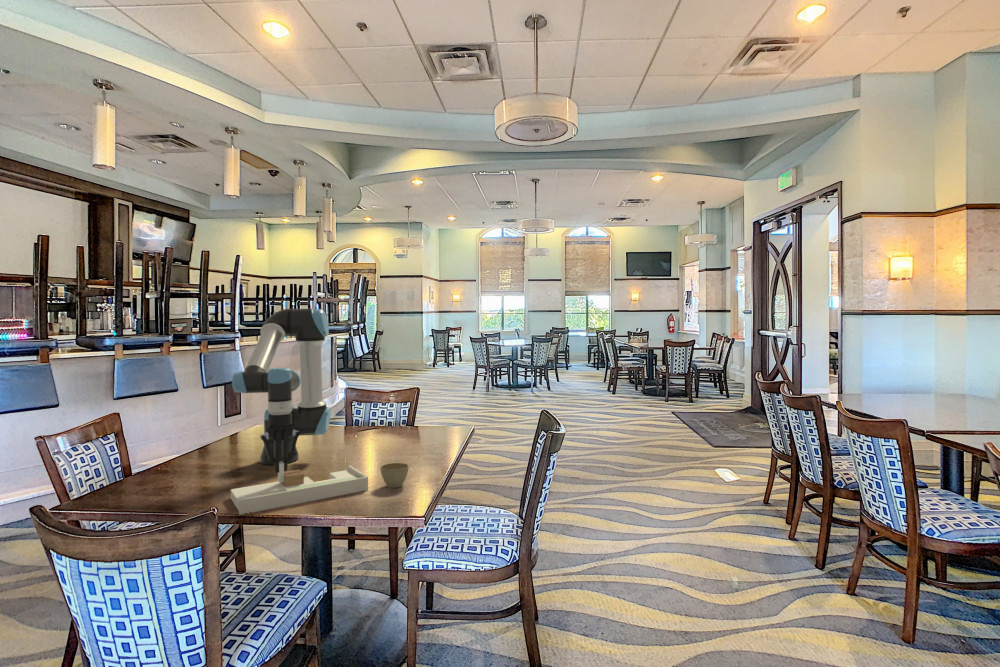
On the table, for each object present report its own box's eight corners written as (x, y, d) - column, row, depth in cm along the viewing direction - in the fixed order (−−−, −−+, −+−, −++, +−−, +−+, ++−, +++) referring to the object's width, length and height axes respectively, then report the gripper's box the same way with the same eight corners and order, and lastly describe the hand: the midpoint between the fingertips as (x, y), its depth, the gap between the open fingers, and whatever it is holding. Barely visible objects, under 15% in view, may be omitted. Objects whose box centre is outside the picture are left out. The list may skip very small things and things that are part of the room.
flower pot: (413, 483, 193) (413, 463, 193) (400, 491, 183) (399, 471, 183) (389, 480, 196) (389, 461, 196) (375, 488, 187) (374, 468, 187)
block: (281, 482, 185) (281, 472, 185) (299, 479, 188) (299, 469, 188) (285, 486, 180) (285, 476, 180) (303, 483, 183) (303, 473, 183)
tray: (229, 498, 177) (229, 485, 177) (350, 477, 201) (350, 465, 201) (239, 514, 162) (239, 500, 162) (368, 489, 185) (368, 477, 185)
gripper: (262, 416, 175) (263, 487, 175) (302, 412, 182) (303, 480, 183) (257, 413, 181) (258, 482, 181) (296, 409, 189) (297, 475, 189)
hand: (281, 481), depth 182 cm, fingers closed
